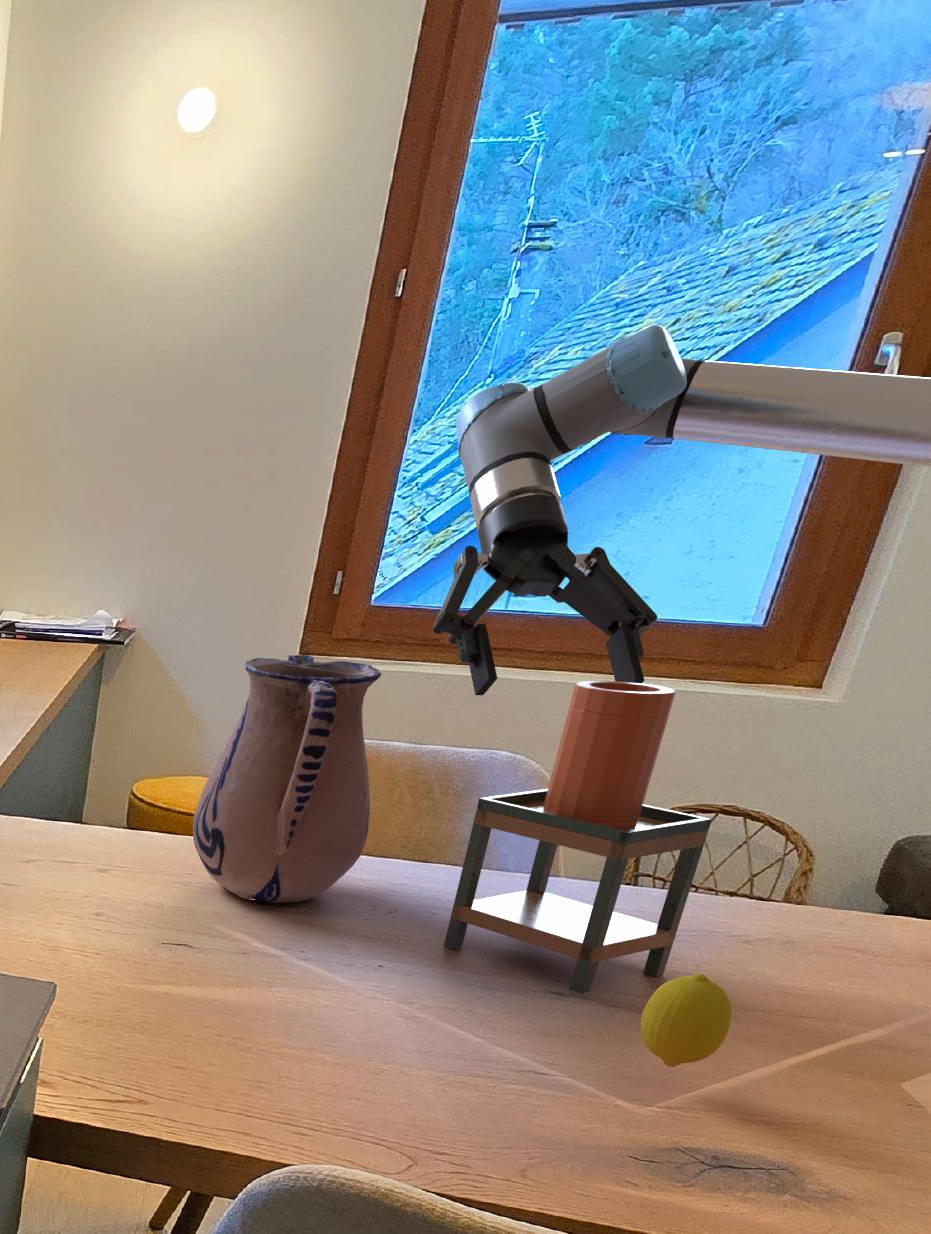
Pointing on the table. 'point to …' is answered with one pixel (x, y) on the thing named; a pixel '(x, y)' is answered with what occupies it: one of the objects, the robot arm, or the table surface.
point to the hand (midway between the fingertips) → (558, 688)
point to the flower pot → (608, 751)
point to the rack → (567, 920)
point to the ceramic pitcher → (289, 783)
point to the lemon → (686, 1020)
